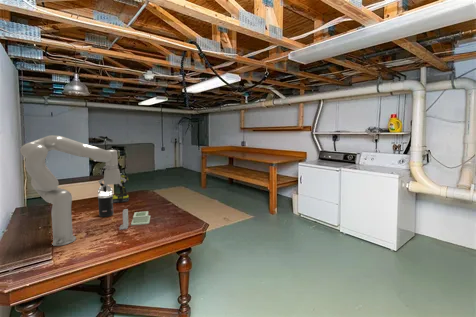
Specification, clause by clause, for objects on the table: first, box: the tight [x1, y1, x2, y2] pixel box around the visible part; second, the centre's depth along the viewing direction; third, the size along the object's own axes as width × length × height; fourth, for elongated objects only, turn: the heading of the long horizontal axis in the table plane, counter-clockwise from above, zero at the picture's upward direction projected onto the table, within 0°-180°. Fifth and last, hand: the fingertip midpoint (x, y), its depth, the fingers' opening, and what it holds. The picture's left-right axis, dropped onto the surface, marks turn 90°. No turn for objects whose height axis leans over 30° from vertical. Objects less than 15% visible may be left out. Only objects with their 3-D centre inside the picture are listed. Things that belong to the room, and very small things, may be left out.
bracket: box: [118, 208, 129, 231], centre depth 168 cm, size 6×5×12 cm
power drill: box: [113, 174, 130, 204], centre depth 230 cm, size 9×17×25 cm, turn 107°
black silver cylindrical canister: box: [97, 185, 114, 218], centre depth 192 cm, size 10×10×25 cm
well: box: [130, 210, 151, 226], centre depth 182 cm, size 16×12×5 cm
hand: (113, 191), depth 173 cm, fingers open, 9 cm apart
